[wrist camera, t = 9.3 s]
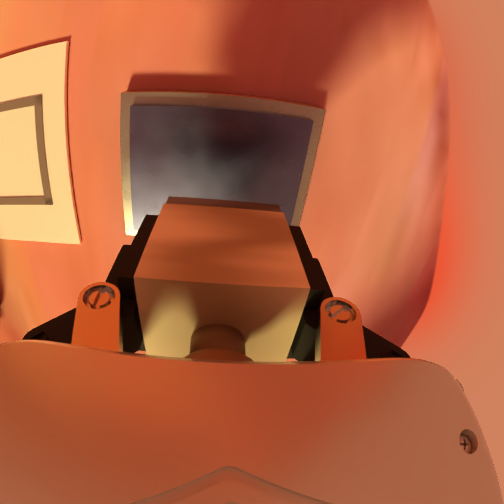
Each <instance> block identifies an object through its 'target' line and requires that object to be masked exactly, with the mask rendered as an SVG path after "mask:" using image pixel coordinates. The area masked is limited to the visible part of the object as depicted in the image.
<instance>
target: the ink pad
mask: <svg viewBox="0 0 504 504" xmlns="http://www.w3.org/2000/svg"><path fill="white" fill-rule="evenodd" d="M325 111H326V110H325V109H323V108H321V107H318V106H313V105H308V104H303V103H297V102H291V101H285V100H279V99H272V98H265V97H257V96H248V95H239V94H229V93H217V92H202V91H179V90H134V91H125V92H122V93H121V116H120V143H121V175H122V193H123V206H124V218H125V229H126V235H136V234H137V232H138V229H139V227H140V225H141V223H142V221H143V219H144V217H145V215H146V214H148V215H159V213H160V211H161V209H162V206H163V204H164V203H166V202H167V199H168V197H169V196H174V197H190V198H205V199H218V200H231V201H243V202H254V203H265V204H275V205H279V206H280V209H281V212H283V213H284V215H285V217H286V220H287V223H288V225H291V226H299V224H300V220H301V216H302V212H303V208H304V204H305V200H306V196H307V191H308V187H309V183H310V179H311V174H312V170H313V166H314V161H315V157H316V152H317V148H318V143H319V139H320V134H321V129H322V125H323V120H324V115H325Z"/></svg>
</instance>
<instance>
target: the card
mask: <svg viewBox="0 0 504 504" xmlns="http://www.w3.org/2000/svg"><path fill="white" fill-rule="evenodd" d="M68 48H69V41H64V42H60V43H55V44H50V45H46V46H42V47H38V48H34V49H30V50H27V51H23V52H20V53H16V54H13V55H10V56H7V57H4V58H1V59H0V239H10V240H25V241H40V242H54V243H69V244H81V242H82V240H81V235H80V230H79V225H78V219H77V213H76V207H75V200H74V193H73V186H72V178H71V169H70V158H69V146H68V130H67V64H68Z"/></svg>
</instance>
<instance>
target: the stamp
mask: <svg viewBox="0 0 504 504" xmlns="http://www.w3.org/2000/svg"><path fill="white" fill-rule="evenodd" d="M134 284H135V291H136V298H137V304H138V310H139V316H140V322H141V328H142V333H143V339H144V344H145V349H146V354H147V355H156V356H166V357H178V358H191V359H206V360H225V361H259V362H286V359H287V356H288V353H289V350H290V348H291V345H292V342H293V339H294V336H295V333H296V330H297V327H298V325H299V322H300V319H301V316H302V313H303V310H304V306H305V303H306V300H307V297H308V294H309V291H310V286H309V283H308V280H307V277H306V274H305V271H304V268H303V265H302V262H301V259H300V256H299V254H298V251H297V248H296V245H295V242H294V240H293V237H292V234H291V231H290V228H289V226H288V223H287V220H286V217H285V215H284V213H283V212H281V209H280V206H279V205H275V204H265V203H254V202H243V201H231V200H218V199H205V198H190V197H174V196H169V197H168V199H167V202H166V203H164V204H163V206H162V209H161V211H160V213H159V216H158V218H157V220H156V222H155V225H154V227H153V229H152V232H151V234H150V237H149V239H148V242H147V244H146V246H145V249H144V251H143V254H142V256H141V259H140V262H139V264H138V267H137V269H136V272H135V275H134Z"/></svg>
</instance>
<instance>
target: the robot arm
mask: <svg viewBox="0 0 504 504" xmlns="http://www.w3.org/2000/svg"><path fill="white" fill-rule="evenodd" d="M158 216H159V215H148V214H146V215H145V217H144V219H143V221H142V223H141V225H140V227H139V229H138V232H137V234H136V236H135V238H134V240H133V242H132V244H131V245H123V246H122V248H121V250H120V252H119V254H118V256H117V258H116V260H115V262H114V265H113V267H112V269H111V271H110V273H109V275H108V277H107V279H106V282H98V283H93V284H91V285H88V286H87V287H85V288H84V289H83V290H82V291H81V292H80V295H79V297H78V302H77V308H74V309H72V310H70V311H68V312H66V313H64V314H62V315H60V316H58V317H56V318H54V319H52V320H50V321H48V322H46V323H44V324H42V325H40V326H38V327H36V328H34V329H32V330H31V331H29V332H28V333H27V334H26V335H25V336H24V338H23V340H17V341H10V342H5V343H2V344H0V504H503V499H502V495H501V490H500V487H499V482H498V479H497V475H496V471H495V468H494V464H493V461H492V458H491V456H490V452H489V450H488V446H487V444H486V441H485V438H484V436H483V433H482V430H481V428H480V425H479V423H478V420H477V418H476V416H475V414H474V411H473V409H472V407H471V405H470V403H469V401H468V399H467V397H466V395H465V393H464V390H463V387H462V385H461V384H460V382H459V381H458V380H456V379H455V378H454V376H453V375H452V374H451V373H450V372H449V371H448V370H447V369H445V368H444V367H442V366H440V365H438V364H435V363H432V362H428V361H425V360H421V359H412V358H410V356H409V355H408V354H407V353H406V352H405V351H404V350H402V349H401V348H399V347H397V346H396V345H394V344H392V343H391V342H389V341H387V340H386V339H384V338H382V337H381V336H379V335H377V334H376V333H374V332H372V331H371V330H369V329H367V328H366V327H364V326H362V321H361V314H360V312H359V310H358V308H357V307H356V306H355V305H354V304H353V303H352V302H350V301H348V300H346V299H343V298H340V297H333V295H332V292H331V290H330V287H329V285H328V282H327V280H326V277H325V275H324V272H323V270H322V268H321V265H320V263H319V261H318V259H316V258H312V255H311V253H310V250H309V248H308V245H307V243H306V240H305V238H304V236H303V233H302V231H301V228H300V226H291V225H288V226H289V228H290V231H291V234H292V237H293V240H294V242H295V245H296V248H297V251H298V254H299V256H300V259H301V262H302V265H303V268H304V271H305V274H306V277H307V280H308V283H309V286H310V291H309V294H308V297H307V300H306V303H305V306H304V310H303V313H302V316H301V319H300V322H299V325H298V327H297V330H296V333H295V336H294V339H293V342H292V345H291V348H290V350H289V353H288V356H287V358H295V359H296V360H297V361H298V362H259V361H225V360H206V359H191V358H178V357H166V356H156V355H146V354H137V353H135V352H136V351H138V350H141V351H146V349H145V344H144V339H143V333H142V328H141V322H140V316H139V310H138V304H137V298H136V291H135V284H134V275H135V272H136V269H137V267H138V264H139V262H140V259H141V256H142V254H143V251H144V249H145V246H146V244H147V242H148V239H149V237H150V234H151V232H152V229H153V227H154V225H155V222H156V220H157V218H158Z"/></svg>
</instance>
